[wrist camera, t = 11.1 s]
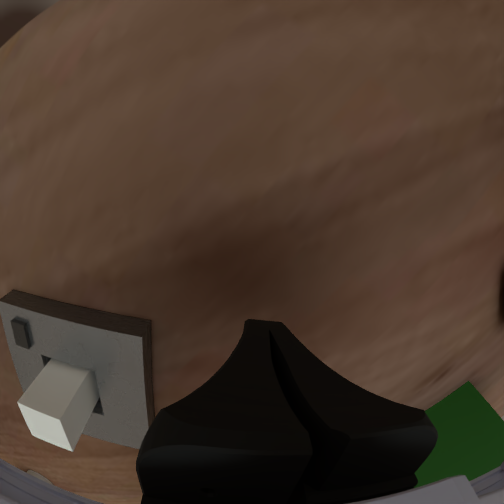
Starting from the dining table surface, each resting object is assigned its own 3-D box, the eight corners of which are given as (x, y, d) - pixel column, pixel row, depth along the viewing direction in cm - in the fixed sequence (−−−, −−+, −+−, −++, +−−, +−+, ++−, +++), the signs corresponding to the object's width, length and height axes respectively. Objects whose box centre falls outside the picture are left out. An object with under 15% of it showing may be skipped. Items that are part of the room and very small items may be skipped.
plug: (102, 390, 24) (72, 451, 16) (67, 380, 23) (32, 435, 16) (97, 358, 23) (59, 419, 15) (59, 348, 22) (17, 402, 15)
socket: (156, 434, 26) (150, 455, 23) (41, 401, 25) (30, 417, 22) (150, 320, 22) (140, 341, 19) (13, 289, 21) (-6, 302, 18)
